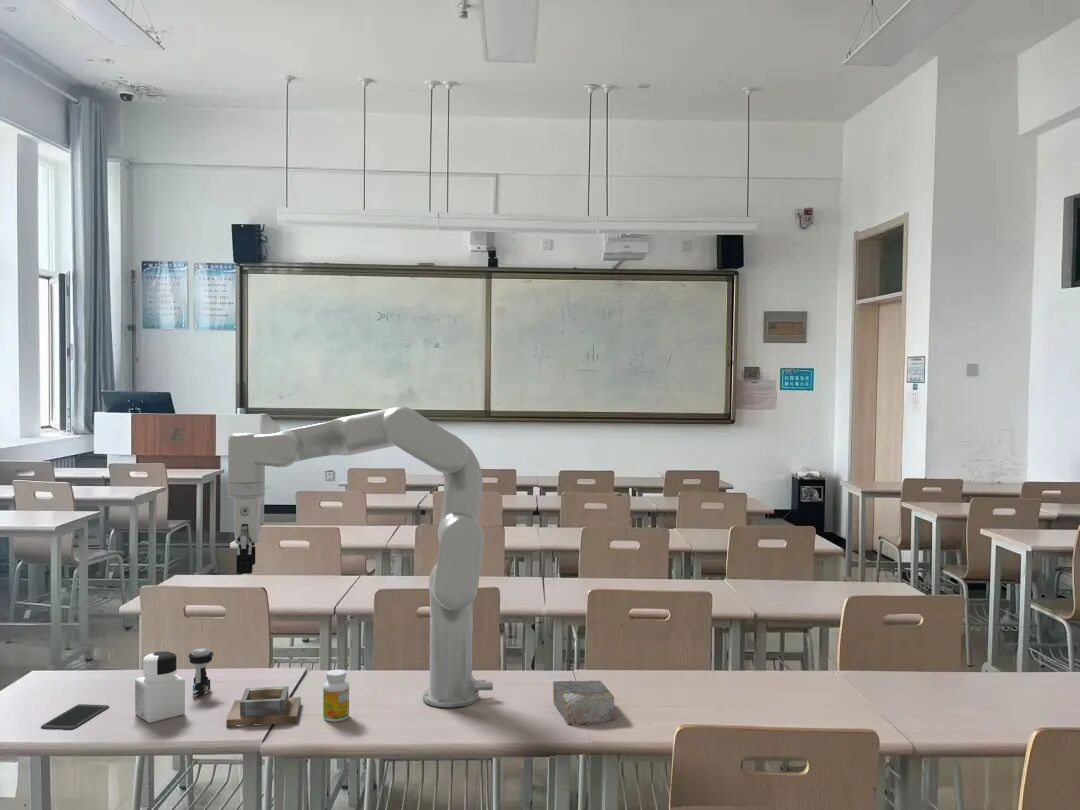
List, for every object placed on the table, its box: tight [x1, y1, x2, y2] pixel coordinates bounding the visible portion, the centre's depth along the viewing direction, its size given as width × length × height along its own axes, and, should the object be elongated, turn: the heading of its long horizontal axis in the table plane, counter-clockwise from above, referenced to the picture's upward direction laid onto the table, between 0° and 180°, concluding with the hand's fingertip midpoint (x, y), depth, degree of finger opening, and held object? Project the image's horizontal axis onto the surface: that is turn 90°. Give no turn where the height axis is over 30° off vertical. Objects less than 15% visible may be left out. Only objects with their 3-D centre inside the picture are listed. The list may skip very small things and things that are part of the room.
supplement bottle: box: [322, 669, 350, 723], centre depth 197 cm, size 5×5×10 cm
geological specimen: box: [552, 680, 615, 727], centre depth 202 cm, size 11×6×15 cm
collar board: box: [225, 686, 302, 726], centre depth 198 cm, size 14×12×4 cm
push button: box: [187, 647, 214, 698], centre depth 211 cm, size 7×5×10 cm
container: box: [134, 650, 186, 724], centre depth 198 cm, size 8×8×13 cm
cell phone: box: [40, 703, 110, 731], centre depth 196 cm, size 7×14×1 cm, turn 175°
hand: (246, 569), depth 201 cm, fingers open, 9 cm apart
